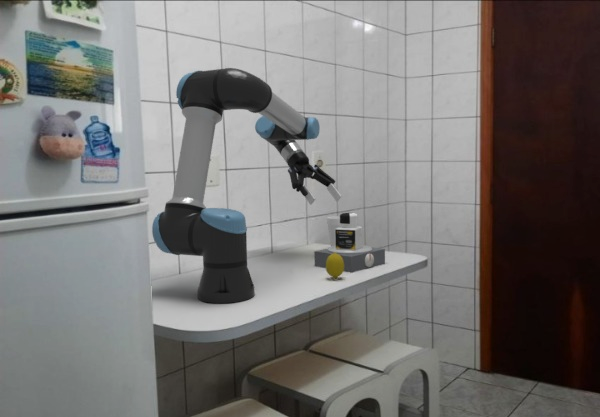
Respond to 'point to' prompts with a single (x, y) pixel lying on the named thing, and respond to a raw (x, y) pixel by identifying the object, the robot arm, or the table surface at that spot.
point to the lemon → (335, 265)
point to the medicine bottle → (348, 232)
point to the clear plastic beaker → (333, 228)
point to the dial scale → (352, 257)
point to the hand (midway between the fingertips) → (326, 200)
